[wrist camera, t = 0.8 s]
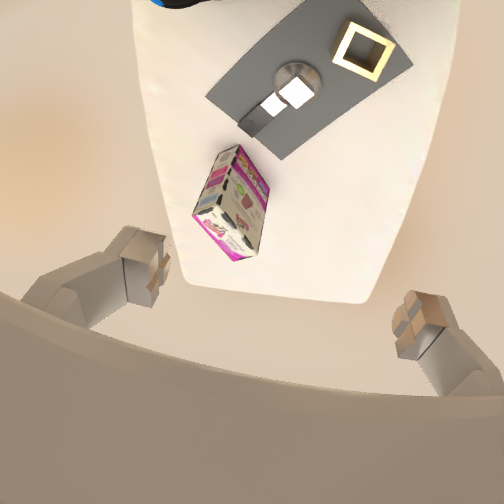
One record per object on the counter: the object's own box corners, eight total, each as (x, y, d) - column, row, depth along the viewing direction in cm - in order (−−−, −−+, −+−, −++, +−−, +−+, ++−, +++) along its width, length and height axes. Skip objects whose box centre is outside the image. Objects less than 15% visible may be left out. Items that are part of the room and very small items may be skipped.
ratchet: (297, 52, 38) (296, 59, 34) (330, 84, 41) (333, 96, 37) (230, 113, 47) (223, 127, 44) (262, 140, 50) (258, 156, 47)
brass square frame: (345, 17, 32) (351, 21, 28) (385, 37, 33) (395, 44, 29) (329, 52, 37) (332, 61, 33) (367, 70, 38) (375, 82, 34)
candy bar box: (216, 154, 54) (189, 215, 43) (239, 143, 52) (217, 204, 41) (248, 198, 61) (232, 263, 50) (271, 190, 58) (259, 256, 48)
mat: (335, -23, 28) (336, -23, 28) (412, 64, 35) (413, 65, 35) (205, 95, 45) (204, 96, 45) (281, 159, 53) (281, 160, 53)
